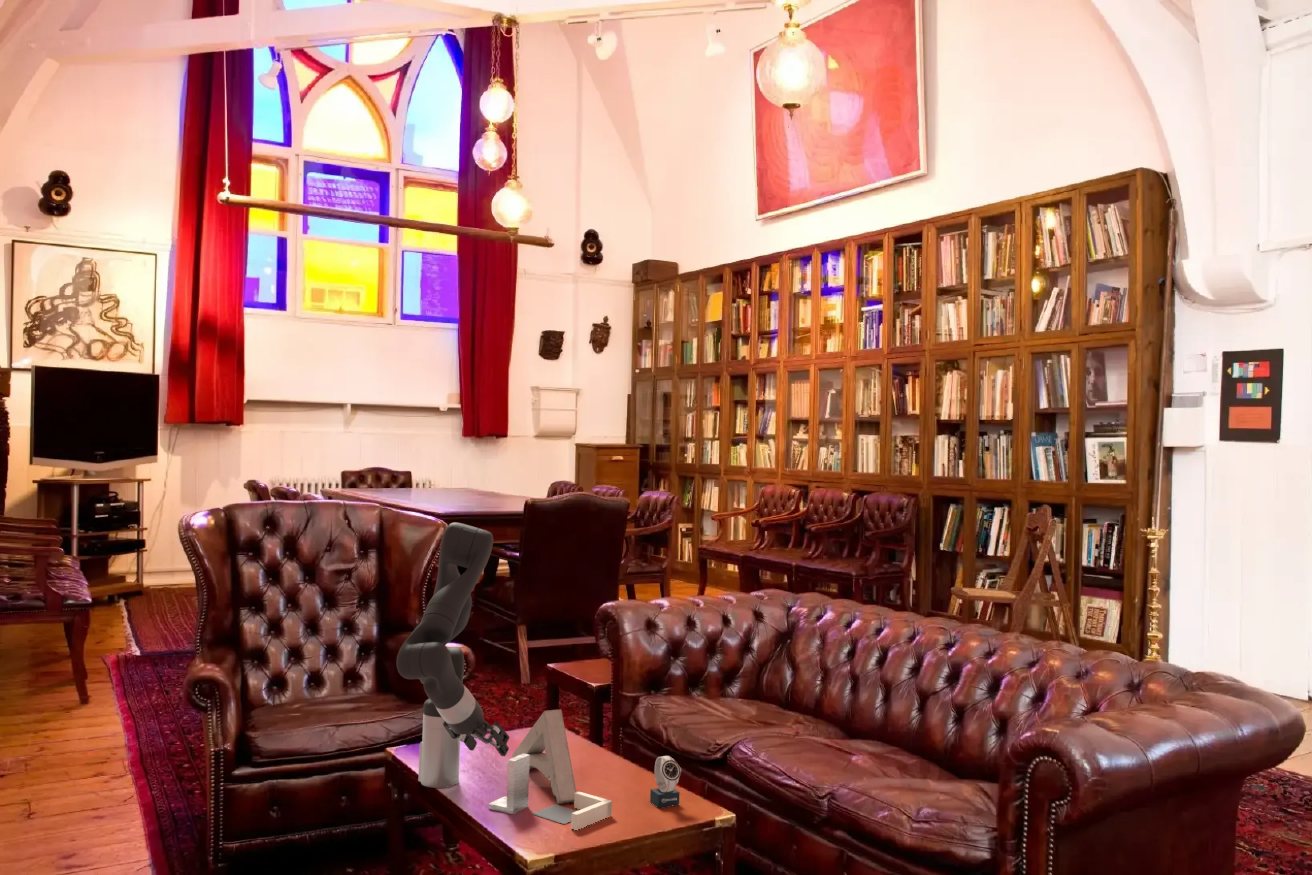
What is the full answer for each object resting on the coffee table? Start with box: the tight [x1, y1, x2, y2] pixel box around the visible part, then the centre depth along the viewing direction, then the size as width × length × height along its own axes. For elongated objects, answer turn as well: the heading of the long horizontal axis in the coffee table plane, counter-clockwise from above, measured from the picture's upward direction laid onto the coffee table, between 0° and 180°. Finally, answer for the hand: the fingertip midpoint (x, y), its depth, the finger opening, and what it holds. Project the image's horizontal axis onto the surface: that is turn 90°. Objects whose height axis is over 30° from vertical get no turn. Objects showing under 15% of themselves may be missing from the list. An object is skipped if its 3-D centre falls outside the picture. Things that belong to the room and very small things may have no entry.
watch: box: [649, 755, 682, 809], centre depth 238 cm, size 6×8×11 cm
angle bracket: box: [488, 754, 530, 815], centre depth 232 cm, size 7×6×12 cm
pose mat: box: [531, 804, 577, 825], centre depth 229 cm, size 10×8×1 cm
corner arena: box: [570, 791, 613, 831], centre depth 227 cm, size 10×12×4 cm
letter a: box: [511, 709, 577, 805], centre depth 252 cm, size 22×4×30 cm
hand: (489, 749), depth 221 cm, fingers open, 8 cm apart
